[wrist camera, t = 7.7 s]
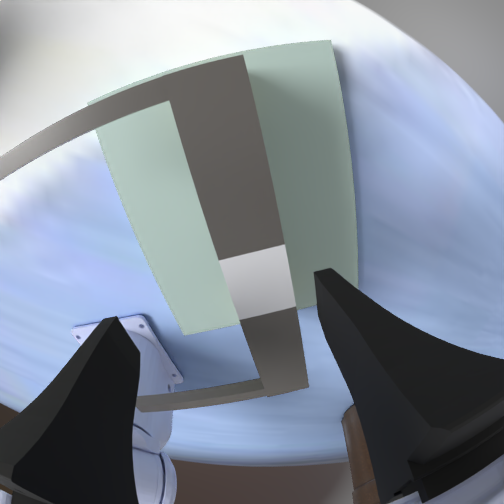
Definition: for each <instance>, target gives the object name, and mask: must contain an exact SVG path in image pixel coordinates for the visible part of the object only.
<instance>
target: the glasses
mask: <svg viewBox="0 0 504 504" xmlns="http://www.w3.org/2000/svg"><path fill="white" fill-rule="evenodd" d="M167 101H170V105H171V108H172V112H173V115H174V119H175V122H176V126H177V129H178V133H179V136H180V139H181V143H182V146H183V149H184V153H185V156H186V159H187V163H188V166H189V169H190V173H191V176H192V179H193V182H194V186H195V189H196V192H197V195H198V198H199V202H200V205H201V208H202V211H203V214H204V217H205V220H206V224H207V227H208V230H209V233H210V236H211V239H212V242H213V245H214V248H215V251H216V254H217V257H218V260H219V263H220V266H221V269H222V272H223V275H224V278H225V281H226V284H227V287H228V289H229V292H230V295H231V298H232V301H233V304H234V307H235V310H236V312H237V315H238V318H239V321H240V324H241V326H242V329H243V332H244V335H245V338H246V340H247V343H248V346H249V349H250V351H251V354H252V357H253V360H254V362H255V365H256V368H257V370H258V373H259V376H260V378H258V379H254V380H249V381H244V382H238V383H233V384H228V385H222V386H216V387H210V388H203V389H197V390H189V391H182V392H174V393H165V394H156V395H145V396H137V400H136V408H137V409H138V410H139V411H140V412H142V413H145V412H159V411H170V410H180V409H189V408H197V407H205V406H212V405H219V404H225V403H231V402H237V401H243V400H248V399H253V398H258V397H263V396H267V397H270V396H275V395H279V394H284V393H288V392H292V391H296V390H300V389H304V388H308V387H309V383H308V377H307V370H306V364H305V357H304V351H303V344H302V338H301V332H300V326H299V320H298V314H297V308H296V303H295V297H294V291H293V285H292V280H291V274H290V269H289V263H288V258H287V253H286V247H285V242H284V237H283V232H282V227H281V221H280V216H279V211H278V206H277V201H276V197H275V192H274V187H273V182H272V177H271V173H270V168H269V163H268V158H267V154H266V149H265V145H264V140H263V136H262V131H261V127H260V122H259V118H258V114H257V109H256V105H255V101H254V97H253V92H252V88H251V84H250V80H249V76H248V72H247V68H246V64H245V60H244V56H243V55H238V56H234V57H229V58H225V59H220V60H216V61H212V62H208V63H204V64H200V65H197V66H193V67H190V68H186V69H183V70H179V71H176V72H173V73H170V74H167V75H164V76H162V77H159V78H156V79H153V80H150V81H147V82H145V83H142V84H139V85H136V86H134V87H131V88H129V89H126V90H124V91H121V92H119V93H116V94H114V95H112V96H109V97H107V98H105V99H103V100H100V101H98V102H96V103H94V104H92V105H89V106H87V107H85V108H83V109H81V110H79V111H77V112H75V113H73V114H71V115H69V116H67V117H65V118H64V119H62V120H60V121H58V122H56V123H54V124H53V125H51V126H49V127H47V128H45V129H44V130H42V131H40V132H39V133H37V134H35V135H34V136H32V137H30V138H29V139H27V140H26V141H24V142H22V143H21V144H19V145H18V146H16V147H15V148H13V149H12V150H10V151H9V152H7V153H6V154H4V155H3V156H2V157H0V181H1V180H2V179H4V178H5V177H7V176H8V175H10V174H12V173H13V172H15V171H16V170H18V169H20V168H21V167H23V166H25V165H26V164H28V163H30V162H31V161H33V160H35V159H37V158H38V157H40V156H42V155H44V154H46V153H47V152H49V151H51V150H53V149H55V148H57V147H59V146H61V145H63V144H65V143H67V142H69V141H71V140H73V139H75V138H77V137H79V136H81V135H83V134H85V133H87V132H90V131H92V130H94V129H96V128H99V127H101V126H103V125H106V124H108V123H110V122H113V121H115V120H118V119H120V118H122V117H125V116H128V115H130V114H133V113H135V112H138V111H141V110H144V109H146V108H149V107H152V106H155V105H158V104H161V103H164V102H167Z"/></svg>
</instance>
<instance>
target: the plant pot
mask: <svg viewBox="0 0 504 504" xmlns="http://www.w3.org/2000/svg"><path fill="white" fill-rule="evenodd" d="M341 422H342V426H343V431H344V436H345V441H346V446H347V452H348V457H349V463H350V468H351V474H352V480H353V487H354V491H353V493H352V495H353V502H354V504H381V503H380V499H379V496H378V491H377V486H376V481H375V477H374V472H373V468H372V464H371V460H370V456H369V452H368V448H367V444H366V441H365V437H364V434H363V430H362V427H361V423H360V420H359V417H358V413H357V410H356V407H355V404H354V405H353V406H352V407H350V408H349V409H348V410H347V411H346V412H345V414H344V418H343V419H342V421H341ZM400 499H401V498H400ZM395 501H396V500H395ZM393 502H394V501H393ZM388 504H389V503H388Z"/></svg>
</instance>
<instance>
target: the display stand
mask: <svg viewBox="0 0 504 504" xmlns="http://www.w3.org/2000/svg"><path fill="white" fill-rule="evenodd" d="M238 55H243V56H244V60H245V64H246V68H247V72H248V76H249V80H250V84H251V88H252V92H253V97H254V101H255V105H256V109H257V114H258V118H259V122H260V127H261V131H262V136H263V140H264V145H265V149H266V154H267V158H268V163H269V168H270V173H271V177H272V182H273V187H274V192H275V197H276V201H277V206H278V211H279V216H280V221H281V227H282V232H283V237H284V242H285V247H286V253H287V258H288V263H289V269H290V274H291V280H292V285H293V291H294V297H295V303H296V308H297V310H300V309H304V308H307V307H311V306H315V305H317V300H316V290H315V281H314V272H315V271H319V270H323V269H327V268H332V269H334V270H335V271H336V272H337V273H338V274H340V275H341V276H342V277H343V278H345V279H346V280H347V281H348V282H349V283H351V284H352V285H353V286H354V287H356V288H357V289H358V245H357V223H356V207H355V194H354V182H353V172H352V162H351V153H350V145H349V137H348V130H347V123H346V116H345V110H344V104H343V98H342V92H341V86H340V81H339V76H338V71H337V66H336V61H335V56H334V52H333V47H332V43H331V40H322V41H310V42H300V43H291V44H283V45H276V46H269V47H263V48H257V49H252V50H246V51H241V52H236V53H232V54H227V55H223V56H218V57H214V58H210V59H206V60H203V61H199V62H195V63H192V64H188V65H185V66H181V67H178V68H175V69H172V70H168V71H165V72H162V73H159V74H156V75H154V76H151V77H148V78H145V79H142V80H140V81H137V82H135V83H132V84H129V85H127V86H124V87H122V88H120V89H117V90H115V91H112V92H110V93H108V94H105V95H103V96H101V97H99V98H97V99H94V100H92V101H90V102H88V106H89V105H92V104H94V103H96V102H98V101H100V100H103V99H105V98H107V97H109V96H112V95H114V94H116V93H119V92H121V91H124V90H126V89H129V88H131V87H134V86H136V85H139V84H142V83H145V82H147V81H150V80H153V79H156V78H159V77H162V76H164V75H167V74H170V73H173V72H176V71H179V70H183V69H186V68H190V67H193V66H197V65H200V64H204V63H208V62H212V61H216V60H220V59H225V58H229V57H234V56H238ZM95 130H96V133H97V136H98V139H99V142H100V145H101V148H102V151H103V154H104V156H105V159H106V162H107V165H108V168H109V171H110V173H111V176H112V179H113V181H114V184H115V187H116V189H117V192H118V194H119V197H120V199H121V202H122V205H123V207H124V209H125V212H126V214H127V217H128V219H129V222H130V224H131V226H132V229H133V231H134V233H135V236H136V238H137V240H138V243H139V245H140V247H141V249H142V252H143V254H144V256H145V258H146V260H147V262H148V265H149V267H150V269H151V271H152V273H153V275H154V277H155V279H156V282H157V284H158V286H159V288H160V290H161V292H162V294H163V296H164V298H165V300H166V302H167V304H168V306H169V308H170V310H171V312H172V313H173V315H174V317H175V319H176V321H177V323H178V325H179V327H180V329H181V330H182V332H183V334H184V335H190V334H195V333H200V332H205V331H210V330H214V329H219V328H224V327H229V326H233V325H238V324H240V321H239V318H238V315H237V312H236V310H235V307H234V304H233V301H232V298H231V295H230V292H229V289H228V287H227V284H226V281H225V278H224V275H223V272H222V269H221V266H220V263H219V260H218V257H217V254H216V251H215V248H214V245H213V242H212V239H211V236H210V233H209V230H208V227H207V224H206V220H205V217H204V214H203V211H202V208H201V205H200V202H199V198H198V195H197V192H196V189H195V186H194V182H193V179H192V176H191V173H190V169H189V166H188V163H187V159H186V156H185V153H184V149H183V146H182V143H181V139H180V136H179V133H178V129H177V126H176V122H175V119H174V115H173V112H172V108H171V105H170V101H167V102H164V103H161V104H158V105H155V106H152V107H149V108H146V109H144V110H141V111H138V112H135V113H133V114H130V115H128V116H125V117H122V118H120V119H118V120H115V121H113V122H110V123H108V124H106V125H103V126H101V127H99V128H96V129H95Z"/></svg>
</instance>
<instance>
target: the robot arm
mask: <svg viewBox="0 0 504 504" xmlns="http://www.w3.org/2000/svg"><path fill="white" fill-rule="evenodd" d="M314 281H315V290H316V300H317V310H318V317H319V320H320V323H321V326H322V329H323V332H324V335H325V338H326V340H327V343H328V345H329V347H330V349H331V351H332V353H333V356H334V358H335V360H336V362H337V364H338V366H339V368H340V371H341V373H342V375H343V377H344V379H345V381H346V384H347V386H348V388H349V390H350V393H351V395H352V398H353V401H354V404H355V407H356V410H357V413H358V417H359V420H360V423H361V427H362V430H363V434H364V437H365V441H366V444H367V448H368V452H369V456H370V460H371V464H372V468H373V472H374V477H375V481H376V486H377V491H378V496H379V499H380V503H381V504H388V503H389V504H504V359H500V358H495V357H491V356H487V355H483V354H479V353H476V352H473V351H470V350H467V349H464V348H461V347H458V346H456V345H453V344H450V343H448V342H446V341H443V340H441V339H439V338H437V337H434V336H432V335H430V334H428V333H426V332H424V331H422V330H420V329H418V328H416V327H414V326H412V325H410V324H409V323H407V322H405V321H403V320H401V319H400V318H398V317H397V316H395V315H393V314H392V313H390V312H389V311H387V310H386V309H384V308H383V307H381V306H380V305H379V304H377V303H376V302H374V301H373V300H372V299H370V298H369V297H368V296H366V295H365V294H363V293H362V292H361V291H360V290H358V289H357V288H356V287H354V286H353V285H352V284H351V283H349V282H348V281H347V280H346V279H345V278H343V277H342V276H341V275H340V274H338V273H337V272H336V271H335V270H334V269H332V268H327V269H323V270H319V271H315V272H314ZM141 324H142V325H141ZM143 325H144V326H143ZM71 333H72V335H73V336H74V337H75V339H76V340H77V341H78V343H79V344H80V345H81V346H80V348H79V349H78V350H77V351H76V353H75V354H74V355H73V357H72V358H71V359H70V360H69V362H68V363H67V364H66V365H65V366H64V368H63V369H62V370H61V371H60V372H59V374H58V375H57V376H56V377H55V379H54V380H53V381H52V382H51V383H50V384H49V385H48V386H47V388H46V389H45V390H44V391H43V392H42V393H41V394H40V395H39V396H38V397H37V398H36V399H35V400H34V401H33V402H32V403H30V404H29V405H28V406H27V407H26V408H25V409H24V410H23V411H22V412H21V413H19V415H17V416H16V417H14V418H13V419H12V420H11V421H9V422H8V423H7V424H5V425H4V426H3V427H1V428H0V483H1V484H3V485H4V486H6V487H8V488H10V489H11V490H13V494H12V495H10V494H8V493H6V492H4V491H2V490H0V504H174V500H175V496H176V487H177V481H176V472H175V469H174V466H173V464H172V462H171V460H170V458H169V457H168V455H167V454H166V453H164V452H160V450H161V449H162V448H163V447H164V446H165V445H166V443H167V442H168V440H169V438H170V435H171V432H172V417H173V410H170V411H159V412H145V413H142V412H140V411H139V410H138V409H137V408H136V400H137V396H145V395H156V394H165V393H174V387H175V384H180V383H182V382H183V377H182V376H181V374H180V373H179V371H178V370H177V368H176V367H175V365H174V364H173V362H172V361H171V359H170V358H169V356H168V355H167V353H166V351H165V350H164V348H163V347H162V345H161V344H160V342H159V340H158V339H157V337H156V336H155V334H154V332H153V331H152V329H151V327H150V326H149V324H148V322H147V321H146V319H145V318H144V317H143V316H141V315H135V316H130V317H125V318H120V319H118V317H117V316H115V317H110V318H105V319H103V320H102V321H101V322H99V323H94V324H89V325H83V326H78V327H73V328H72V330H71ZM400 498H401V499H400ZM395 500H396V501H395ZM393 501H394V502H393Z"/></svg>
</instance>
